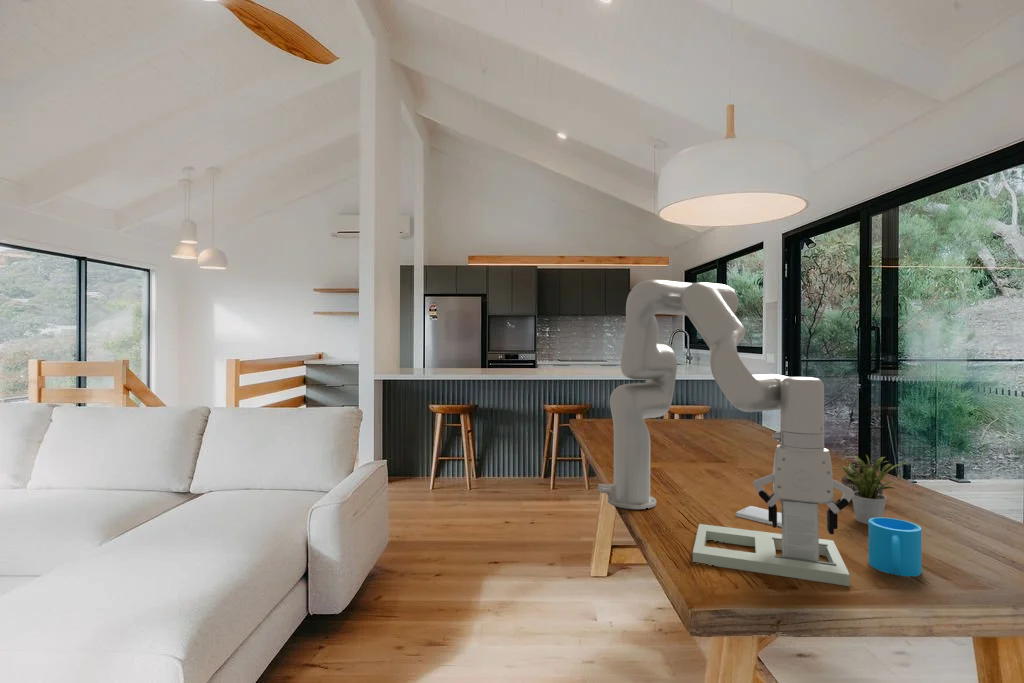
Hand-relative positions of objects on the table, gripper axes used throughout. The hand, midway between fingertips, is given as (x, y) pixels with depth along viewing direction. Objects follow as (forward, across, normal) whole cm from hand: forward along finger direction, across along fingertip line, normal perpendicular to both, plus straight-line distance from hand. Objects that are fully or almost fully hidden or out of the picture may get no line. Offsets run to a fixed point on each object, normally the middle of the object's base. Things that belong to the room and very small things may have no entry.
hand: (802, 528), depth 105 cm
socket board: (+6, -6, 0) cm, 9 cm away
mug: (+7, +16, +2) cm, 17 cm away
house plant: (+6, +18, +34) cm, 39 cm away
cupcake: (+7, +20, +53) cm, 57 cm away
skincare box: (+6, 0, 0) cm, 7 cm away
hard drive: (+7, -5, +26) cm, 28 cm away
